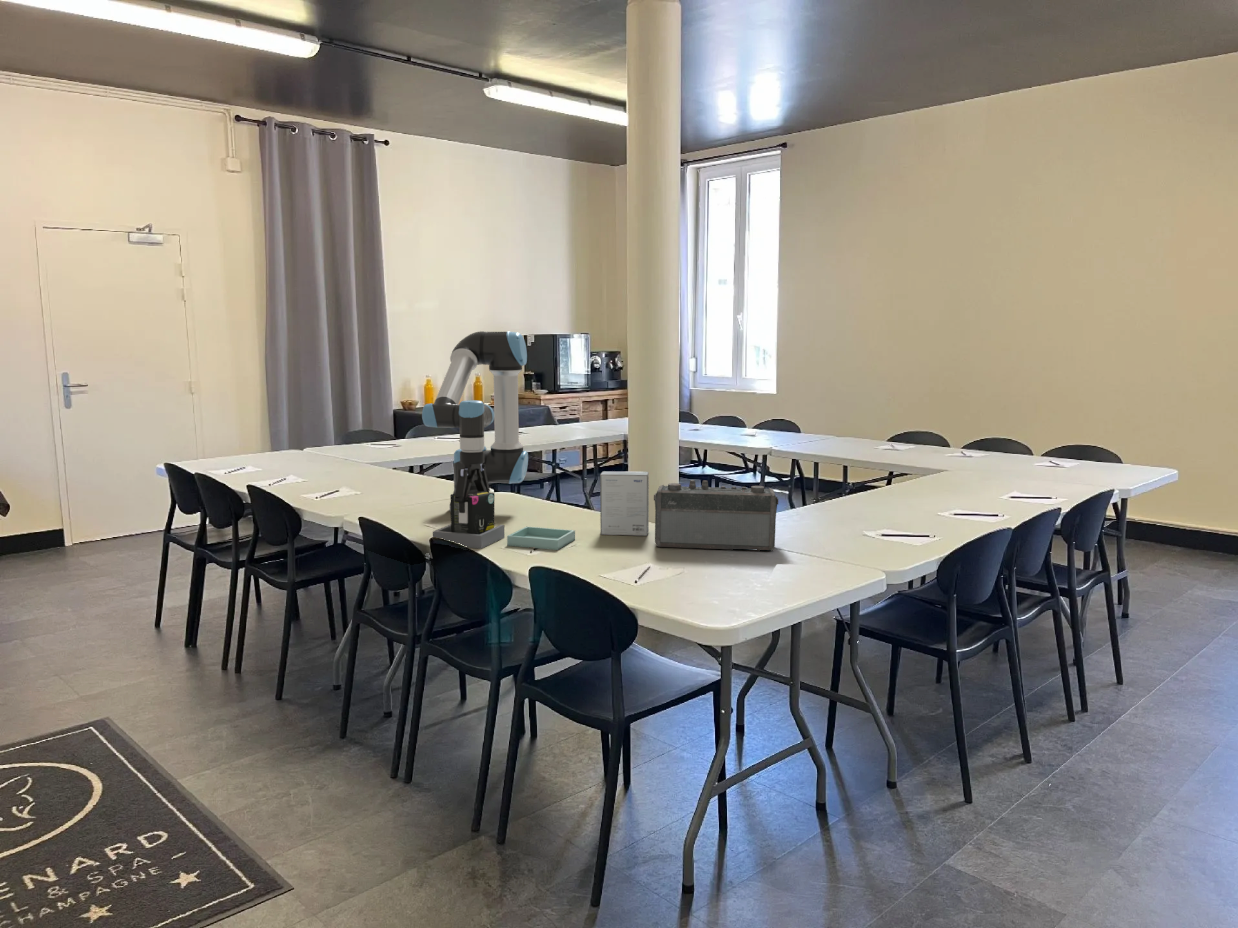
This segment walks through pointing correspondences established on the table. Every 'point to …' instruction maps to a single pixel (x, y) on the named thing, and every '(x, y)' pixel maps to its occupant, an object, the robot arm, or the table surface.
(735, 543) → the radio
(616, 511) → the hard drive box
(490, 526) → the tampon box
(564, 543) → the tray
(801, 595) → the table surface
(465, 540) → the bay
